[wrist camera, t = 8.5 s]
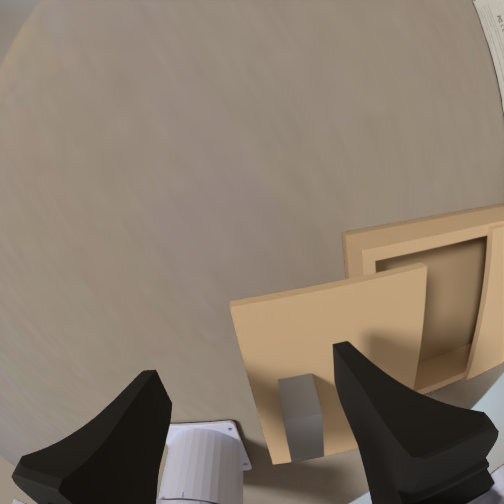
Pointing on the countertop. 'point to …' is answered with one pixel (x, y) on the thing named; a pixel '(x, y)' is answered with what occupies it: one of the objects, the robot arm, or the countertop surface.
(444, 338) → the carton
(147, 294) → the countertop surface
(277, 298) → the lid flap
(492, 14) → the hard drive box
